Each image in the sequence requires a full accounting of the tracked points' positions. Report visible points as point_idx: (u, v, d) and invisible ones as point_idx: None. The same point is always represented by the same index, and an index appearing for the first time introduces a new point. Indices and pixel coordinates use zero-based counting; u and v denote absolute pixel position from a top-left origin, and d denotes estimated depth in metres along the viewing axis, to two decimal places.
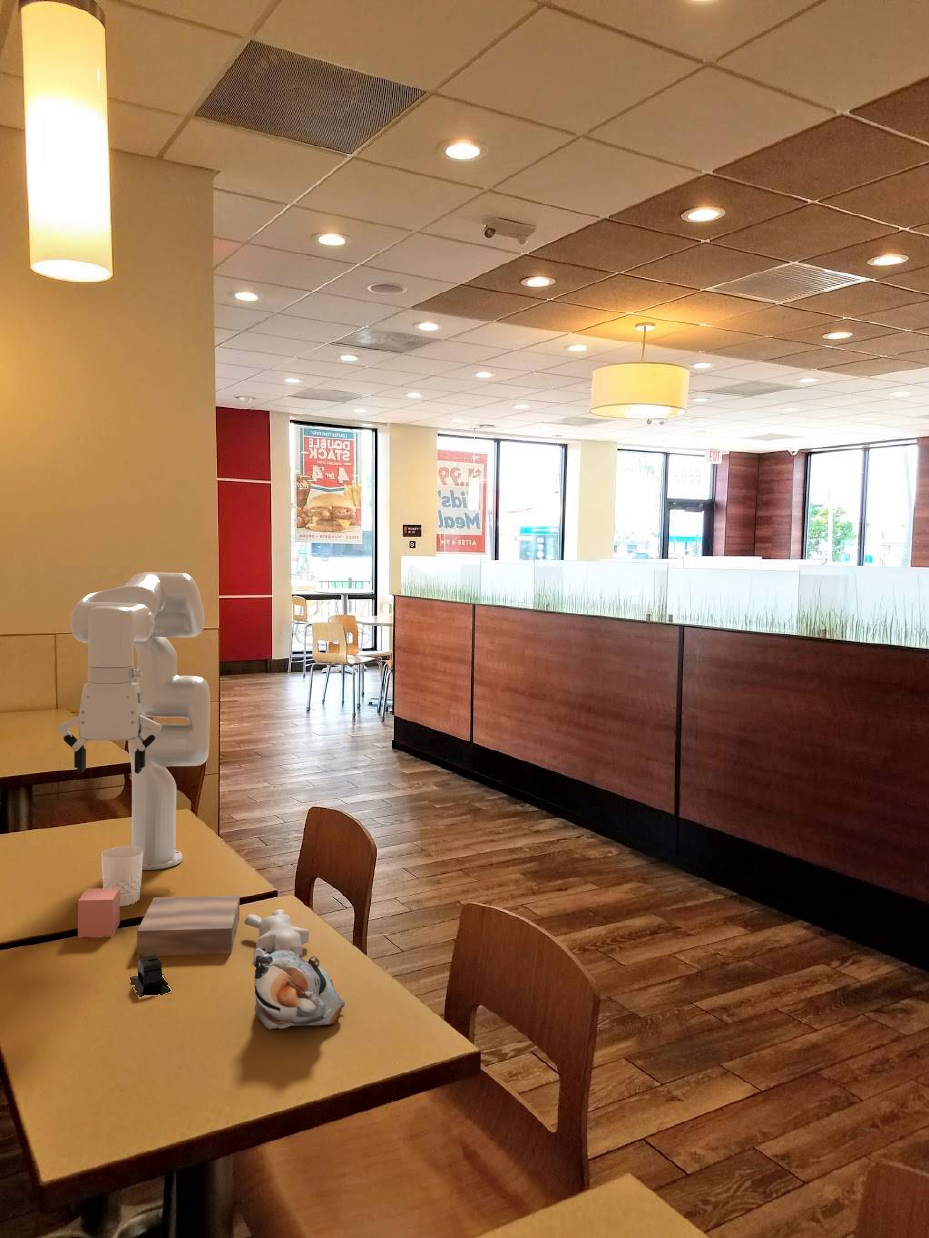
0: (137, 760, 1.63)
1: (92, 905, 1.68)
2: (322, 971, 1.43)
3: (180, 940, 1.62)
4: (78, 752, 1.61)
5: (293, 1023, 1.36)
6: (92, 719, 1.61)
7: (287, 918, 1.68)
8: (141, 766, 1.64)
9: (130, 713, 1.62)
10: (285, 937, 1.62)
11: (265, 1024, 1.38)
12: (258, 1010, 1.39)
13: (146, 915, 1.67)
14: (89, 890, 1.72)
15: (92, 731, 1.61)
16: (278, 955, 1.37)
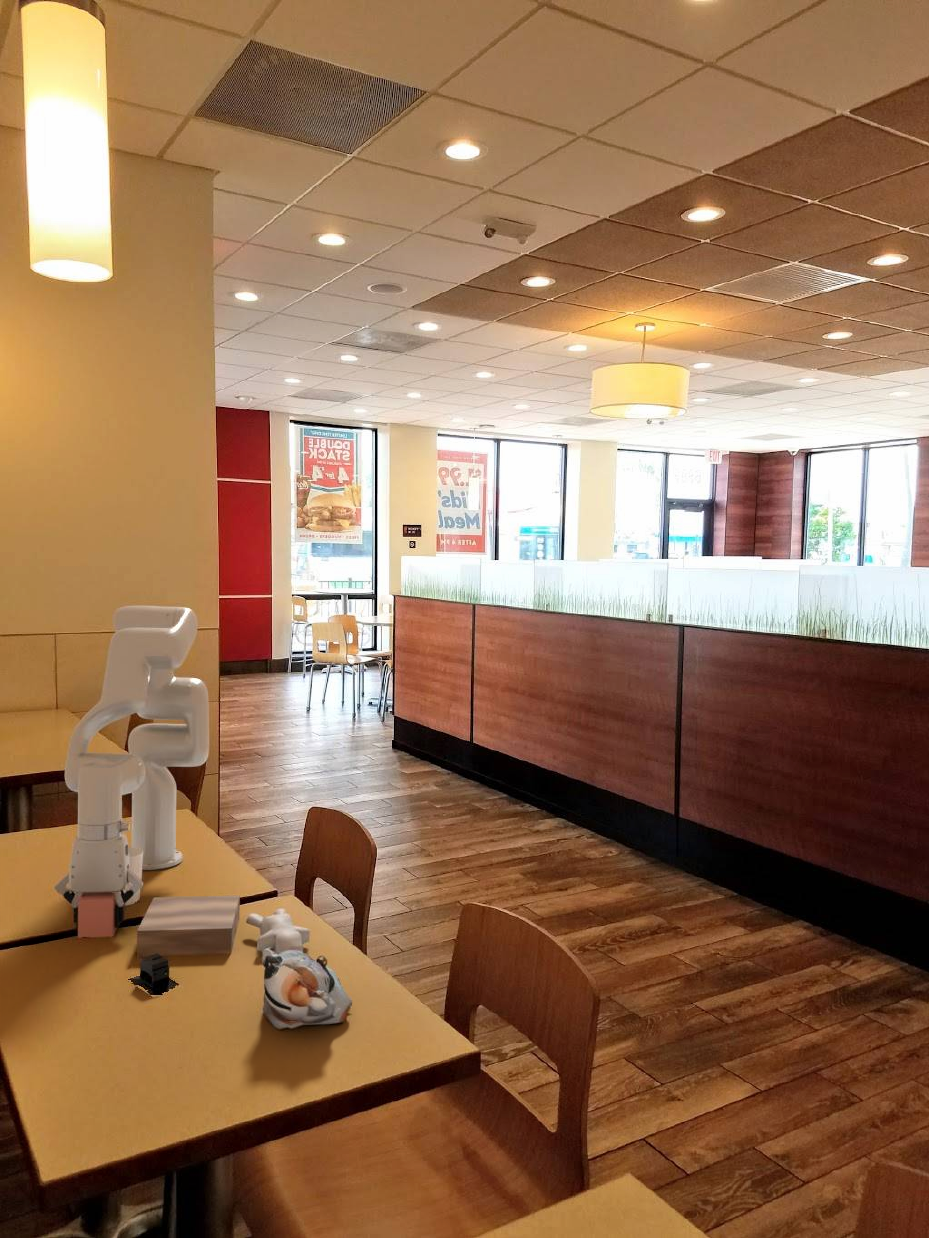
0: (116, 915, 1.70)
1: (92, 905, 1.68)
2: (330, 970, 1.44)
3: (180, 940, 1.62)
4: (77, 909, 1.69)
5: (303, 1022, 1.36)
6: (82, 873, 1.68)
7: (288, 917, 1.68)
8: (120, 920, 1.71)
9: (118, 866, 1.69)
10: (286, 937, 1.62)
11: (274, 1024, 1.38)
12: (267, 1010, 1.39)
13: (146, 915, 1.67)
14: None
15: (82, 884, 1.68)
16: (288, 955, 1.37)
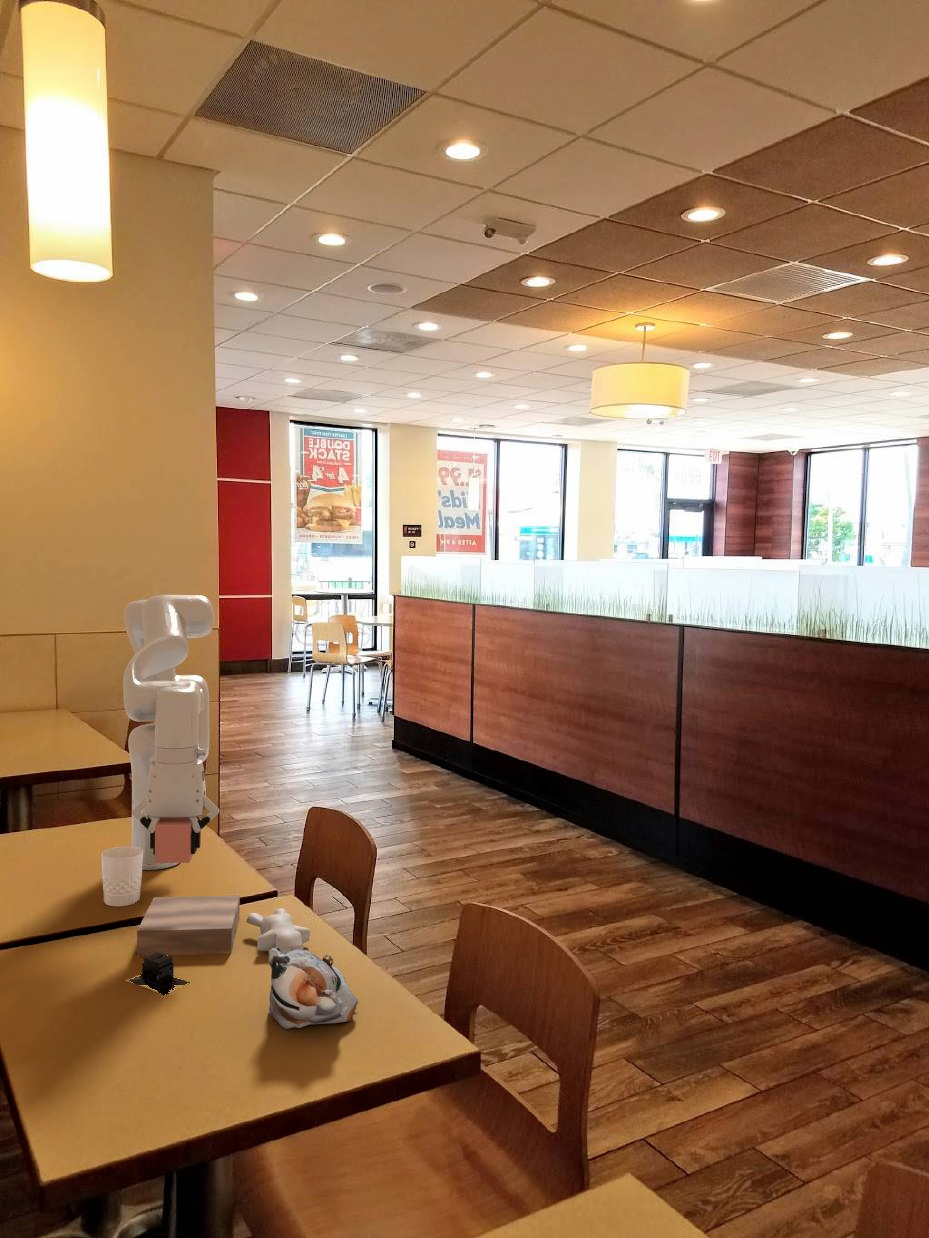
0: (193, 841, 1.68)
1: (169, 830, 1.66)
2: (335, 969, 1.44)
3: (180, 940, 1.62)
4: (154, 834, 1.67)
5: (311, 1021, 1.36)
6: (159, 797, 1.66)
7: (288, 917, 1.68)
8: (197, 847, 1.69)
9: (195, 791, 1.67)
10: (286, 936, 1.62)
11: (281, 1024, 1.38)
12: (274, 1010, 1.39)
13: (146, 915, 1.67)
14: None
15: (159, 809, 1.66)
16: (295, 955, 1.37)
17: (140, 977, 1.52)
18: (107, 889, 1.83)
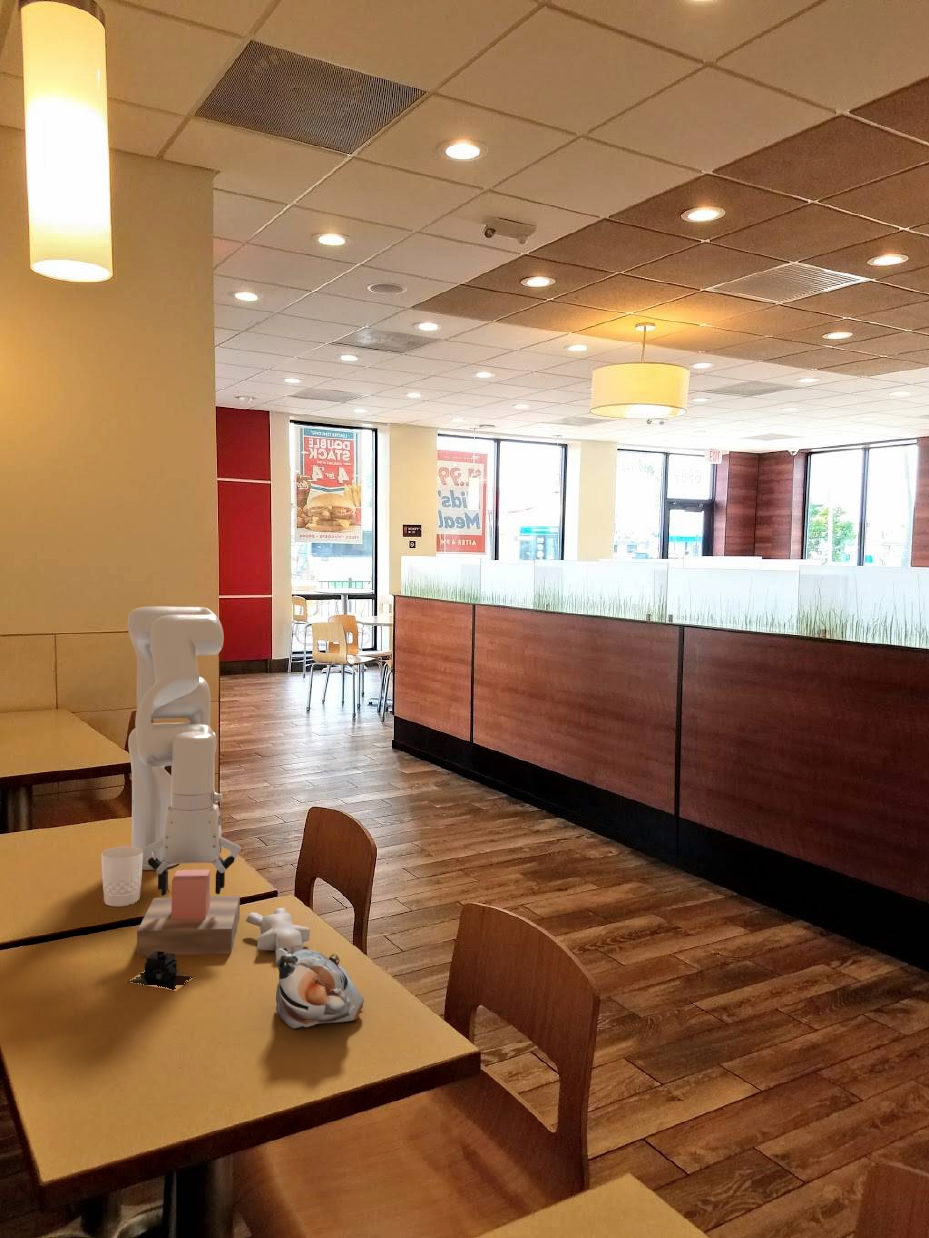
0: (218, 882, 1.68)
1: (186, 886, 1.66)
2: (341, 969, 1.44)
3: (180, 940, 1.62)
4: (162, 875, 1.67)
5: (319, 1021, 1.37)
6: (176, 843, 1.66)
7: (288, 916, 1.68)
8: (221, 887, 1.70)
9: (212, 837, 1.67)
10: (286, 936, 1.63)
11: (289, 1024, 1.38)
12: (281, 1010, 1.39)
13: (146, 915, 1.67)
14: (180, 871, 1.71)
15: (175, 855, 1.66)
16: (303, 955, 1.38)
17: (141, 977, 1.52)
18: (107, 889, 1.83)
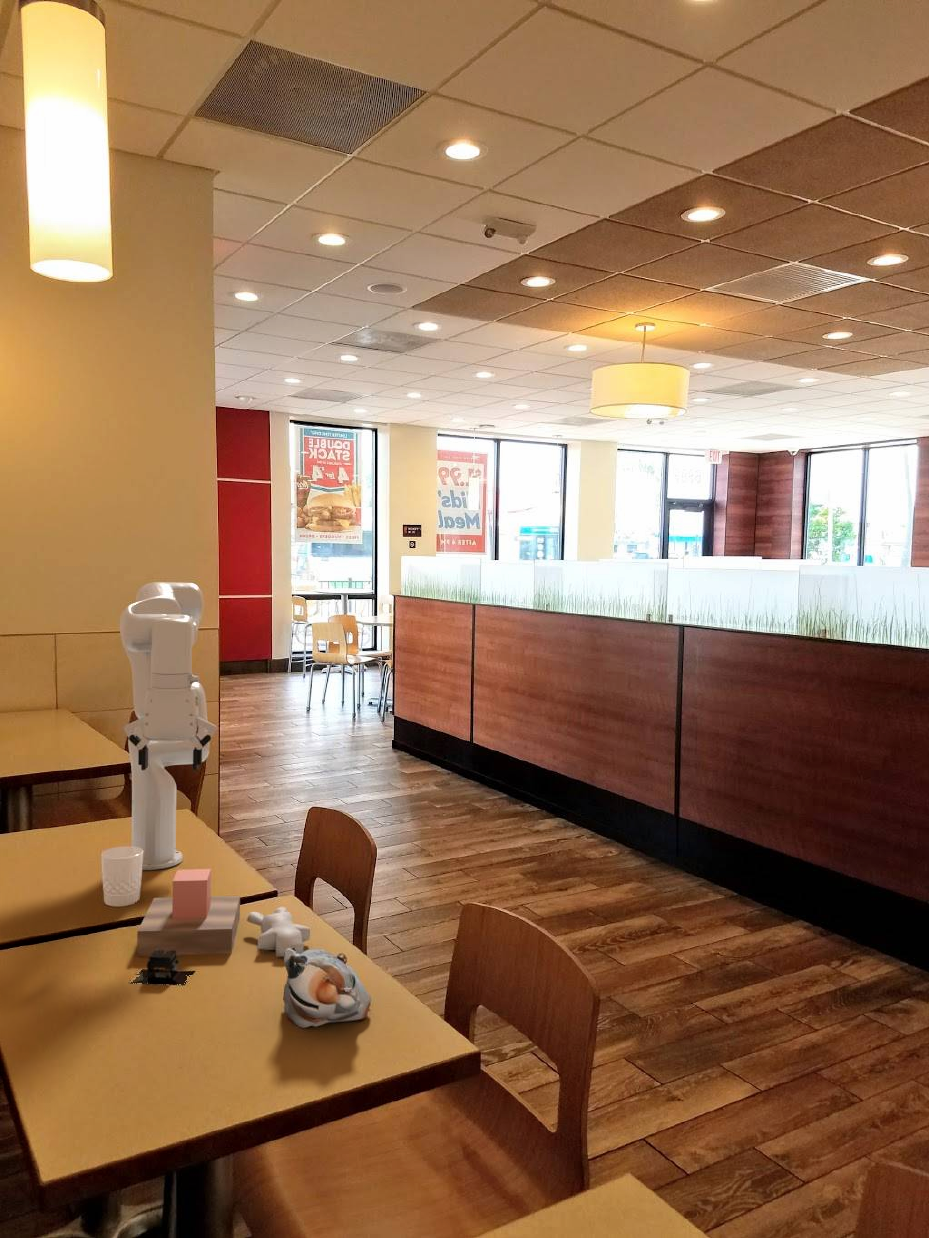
0: (195, 758, 1.79)
1: (187, 886, 1.66)
2: (348, 967, 1.45)
3: (180, 940, 1.62)
4: (142, 751, 1.77)
5: (329, 1020, 1.37)
6: (155, 720, 1.77)
7: (289, 916, 1.69)
8: (198, 763, 1.80)
9: (189, 715, 1.78)
10: (286, 935, 1.63)
11: (298, 1023, 1.38)
12: (290, 1010, 1.39)
13: (146, 915, 1.67)
14: (181, 871, 1.71)
15: (155, 731, 1.77)
16: (312, 954, 1.38)
17: (142, 977, 1.52)
18: (107, 889, 1.83)
